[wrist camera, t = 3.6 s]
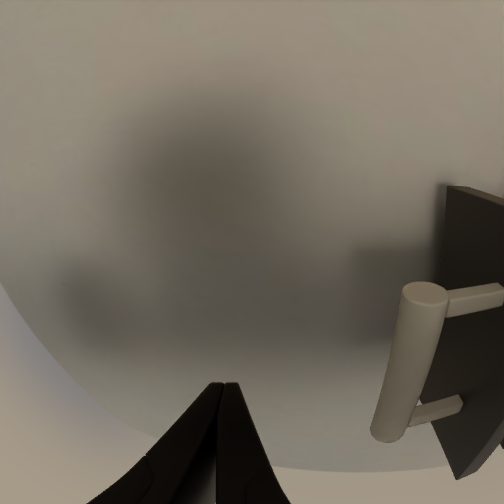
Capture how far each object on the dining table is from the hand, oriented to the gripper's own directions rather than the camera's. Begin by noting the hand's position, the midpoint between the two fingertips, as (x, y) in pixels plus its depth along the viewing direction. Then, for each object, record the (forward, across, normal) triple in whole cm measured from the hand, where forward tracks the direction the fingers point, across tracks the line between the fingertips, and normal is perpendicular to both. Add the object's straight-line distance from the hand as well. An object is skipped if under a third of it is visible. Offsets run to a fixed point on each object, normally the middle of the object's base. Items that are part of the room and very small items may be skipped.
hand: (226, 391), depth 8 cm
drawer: (+4, -13, 0) cm, 13 cm away
